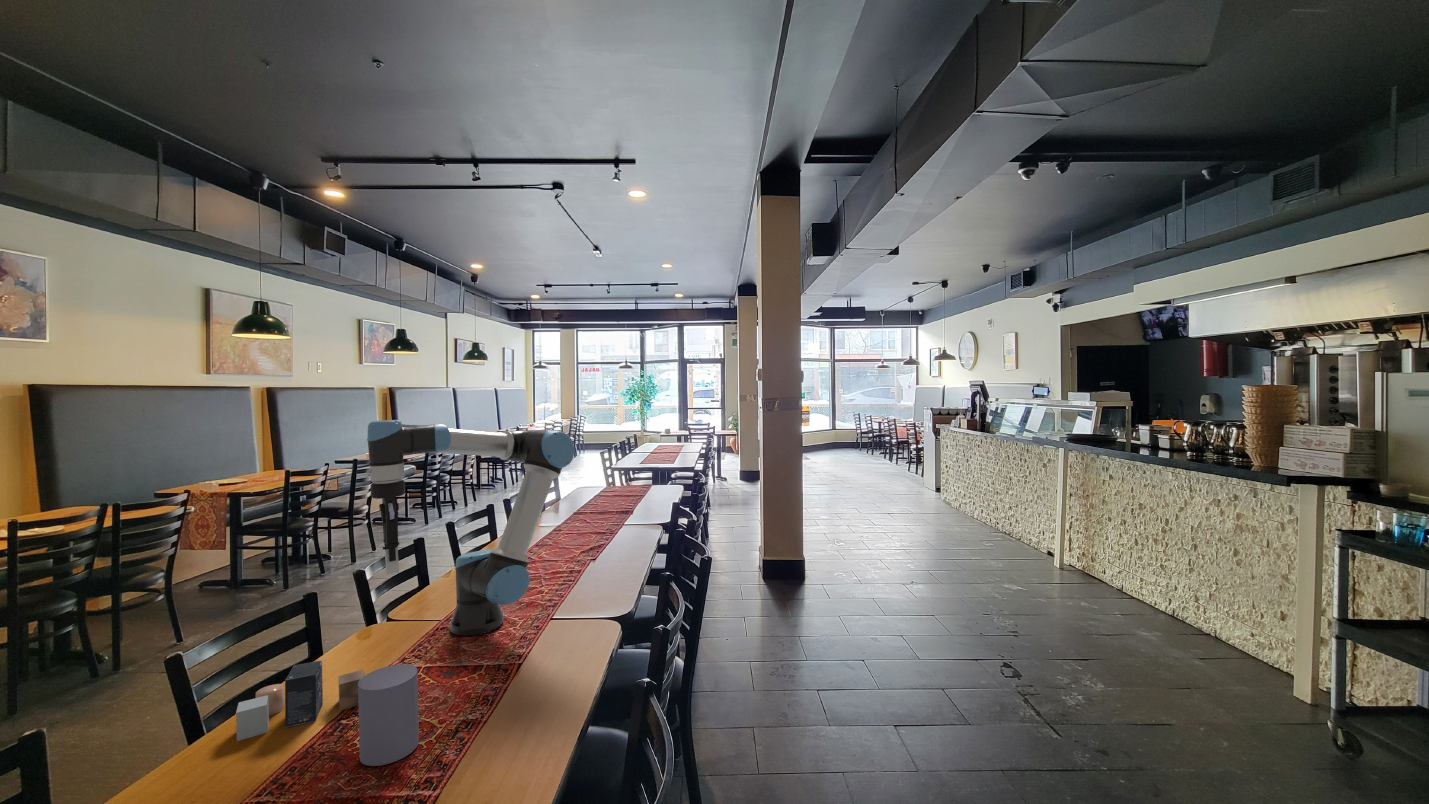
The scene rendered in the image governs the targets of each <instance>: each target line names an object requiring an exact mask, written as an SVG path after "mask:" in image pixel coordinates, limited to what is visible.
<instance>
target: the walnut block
mask: <svg viewBox="0 0 1429 804" xmlns="http://www.w3.org/2000/svg"><path fill="white" fill-rule="evenodd" d="M364 676H365V670H364V669H361V670H356V671H353V672H349V673H345V674H342V675H341V674H340V675H338V704H339V705H338V706H339V711H343V710H347V709H350V708H353V707H357V706H359V702H358V682H359V681H360V679H361V678H362V677H364Z"/></svg>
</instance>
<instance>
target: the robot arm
mask: <svg viewBox="0 0 1429 804" xmlns="http://www.w3.org/2000/svg"><path fill="white" fill-rule="evenodd" d="M366 440H367V448H368V460H369V461H368V463H369V464H368V465H369V469H367V470H366V473H367V474H369V479H370V481H371V483H370V497H371V498H372V499H376V500H380V499H382V500H381V501H382V503H379V504H378V507H379V511H380V518H381V519H380V520H381V521H382V532H383V545H384V546H382V550H383V551H384V556H385V557H384V558H385V560H384V561H385V573H386V575H393V574H396V573H400V568H399V567H400V566H399V565H400V564H399V545H400V541H399V523H398V520H399V509H400V505H399V503H398V501H396V499H395V498H396V497H401V496H404V495H405V494H406V482H405V480H403V479H404V478H405V476H406V475H405V462H404V461H405V460H404V457H405V456H410V455H411V456H412V455H421V454H432V453H434V454H451V455H465V456H466V455H467V456H468V455H469V456H485V457H499V459H500V460H502V461H512V462H518V463H523V465H522V466H523V467H524V469H525V474H524V477H523V480H522V482H521V484H520V488H519V491H518V493H517V496H516V499H515V501H514V504H513V506H512V508H511V509H512V510H511V512H510V514H509V516H508V519H507V523H506V525H505V527H504V531H503V532H502V536H501V538H500V541H499V543H498V546H497V547H496V548H495V549H484V550H483V549H481V550H477V551H470V552H467V553H464V554H462V555H459V556H458V557H457V558H456V560H455V566H454V567H455V568H454V569H455V592H456V593H455V594H456V606H455V609H454V612H453V616H452V618H451V621H450V632H451V634H453V635H455V636H460V635H461V636H462V635H465V636H464V637H467V636H466V635H472V636H476V635H475V634H479V635H482V634H481V633H484V632H487V633H489V632H488V631H490V632H492V631H491V630H493V629H495V628H497V627H499V626H500V625H501V624H502V623H504V613H503V611H502V608H501V606H508V605H511V604H514V603H515V602H517V601H519V600H521V598H522V597H523V596H524V595H525V594H526V592H527V590H528V589H529V587H530V586H529V585H530V580H531V577H530V575H529V574H530V573H529V571H528V570H527V569H528V566H529V564H530V563H529V562H530V559H529V558H528V556H527V554H528V551H529V549H530V545H531V543H532V539H533V536H534V534H535V531H536V528H537V526H538V522H539V520H540V517H541V514H542V512H543V509H544V506H545V502H546V500H547V497H548V495H549V492H550V488H551V487H552V482H553V481H554V480H555V479H557V478H559V477H560V476H561V472H562V470H563V468H565V467H567V466H568V465H570V464H571V463H572V461H573V459H574V456H575V444H574V442H573V440H572V438H571V437H570V436H569V435H568V434H567V433H566V432H564V431H560V430H557V429H547V430H545V429H528V430H504V431H502V432H493V431H483V430H482V431H480V430H471V429H469V430H468V429H460V428H459V429H458V428H449V427H448V425H445V424H443V423H441V424H438V423H437V424H435V423H433V424H403V423H402V421H401V420H399V419H391V420H390V419H389V420H388V419H387V420H386V419H385V420H374V421H371V422H370V423H368V425H367V439H366ZM500 605H501V606H500ZM502 625H503V624H502ZM502 625H501V626H502ZM501 626H500V627H501ZM500 627H499V628H500ZM497 629H498V628H497ZM495 630H496V629H495ZM493 631H494V630H493ZM484 634H485V633H484Z"/></svg>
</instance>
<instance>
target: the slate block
mask: <svg viewBox="0 0 1429 804" xmlns="http://www.w3.org/2000/svg"><path fill="white" fill-rule="evenodd" d="M269 721H270V716H269V701H268V695H266V696H262V697H258V698H256V697H255V698H251V699H247V700H243V701H239V702H238V704H237V708H236V712H235V724H236V726H235V727H236V728H235V729H236V732H235V733H236V742H239V741H242V740H245V739H249V738H252V737H255V736H260V735H262V734H267V733H268V731H269V724H270V722H269Z"/></svg>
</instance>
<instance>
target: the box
mask: <svg viewBox="0 0 1429 804" xmlns="http://www.w3.org/2000/svg"><path fill="white" fill-rule="evenodd" d="M284 685H285V686H284V711H285V713H284V715H285V716H284V719H285V720H284V725H285V728H289V727H296V726H301V725H305V724H310V723H315V722H316V720H317V718H318V716H319V714H320V712H321V709H322V707H323V704H324V703H323V702H324V701H323V700H324V698H323V697H324V694H323V660H317V661H312V662H311V661H310V662H305V663H298V664H295V665H292V668H291V670H290V671H289V674H288V675H287V677H286V678H285V680H284Z"/></svg>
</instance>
